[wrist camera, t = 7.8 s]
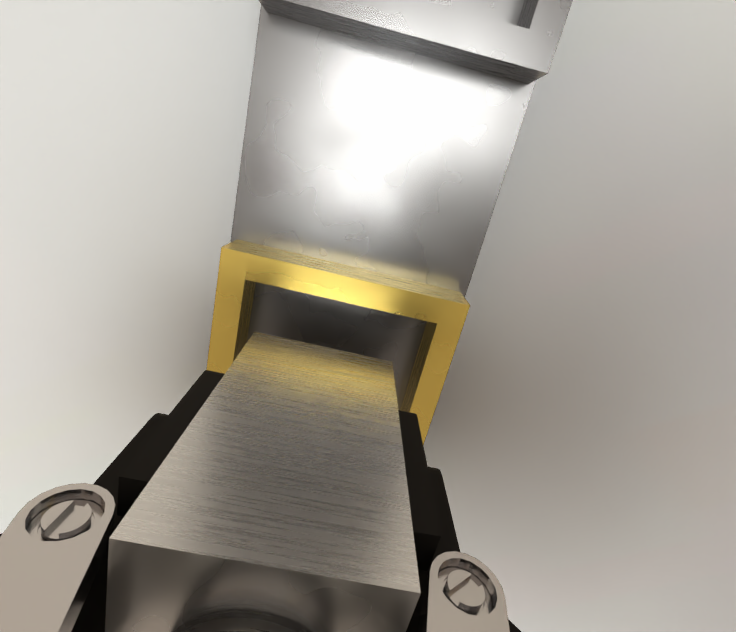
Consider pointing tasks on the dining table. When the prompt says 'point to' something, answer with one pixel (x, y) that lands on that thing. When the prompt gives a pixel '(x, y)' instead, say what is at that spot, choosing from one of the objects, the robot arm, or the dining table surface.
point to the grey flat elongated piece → (375, 175)
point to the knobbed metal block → (275, 506)
